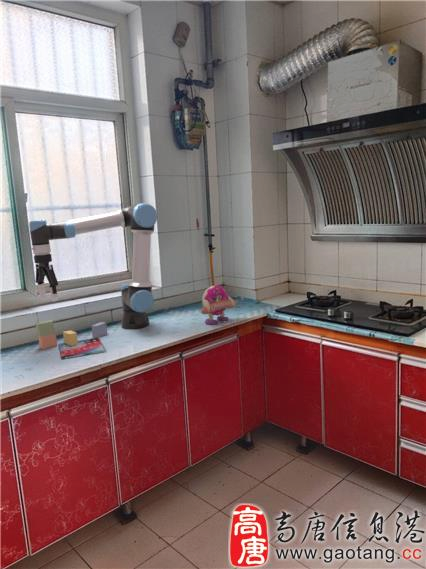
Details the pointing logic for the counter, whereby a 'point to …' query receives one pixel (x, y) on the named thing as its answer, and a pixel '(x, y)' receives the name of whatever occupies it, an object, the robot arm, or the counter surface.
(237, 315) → the counter surface
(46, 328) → the green brick
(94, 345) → the magazine
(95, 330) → the slate brick
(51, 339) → the terracotta brick
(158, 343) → the counter surface
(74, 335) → the mustard brick
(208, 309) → the toy
